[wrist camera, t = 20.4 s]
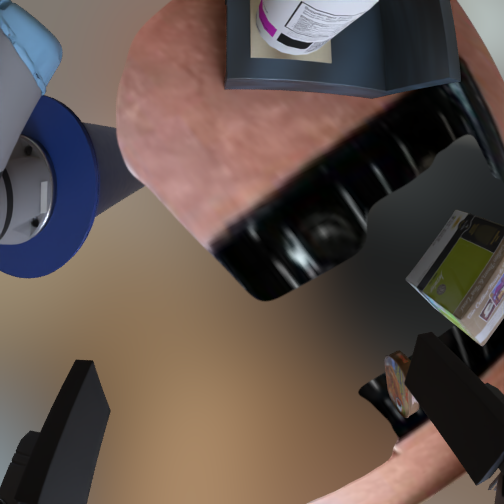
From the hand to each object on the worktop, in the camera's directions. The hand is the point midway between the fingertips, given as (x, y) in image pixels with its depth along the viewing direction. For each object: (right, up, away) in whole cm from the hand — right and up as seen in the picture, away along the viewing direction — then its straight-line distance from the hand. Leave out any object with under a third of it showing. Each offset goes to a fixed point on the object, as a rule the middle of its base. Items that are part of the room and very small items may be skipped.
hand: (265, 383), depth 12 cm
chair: (+6, +32, +24) cm, 40 cm away
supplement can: (+4, +30, +17) cm, 35 cm away
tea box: (+32, +4, +37) cm, 49 cm away
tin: (+26, -18, +43) cm, 53 cm away
